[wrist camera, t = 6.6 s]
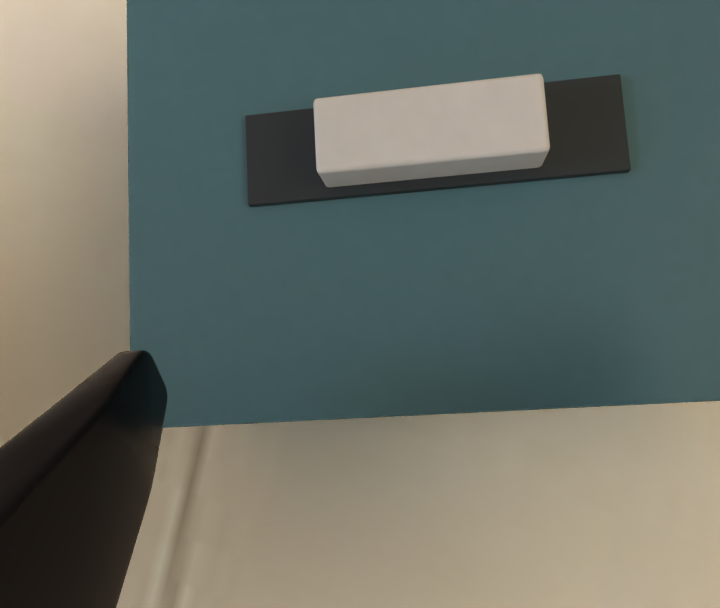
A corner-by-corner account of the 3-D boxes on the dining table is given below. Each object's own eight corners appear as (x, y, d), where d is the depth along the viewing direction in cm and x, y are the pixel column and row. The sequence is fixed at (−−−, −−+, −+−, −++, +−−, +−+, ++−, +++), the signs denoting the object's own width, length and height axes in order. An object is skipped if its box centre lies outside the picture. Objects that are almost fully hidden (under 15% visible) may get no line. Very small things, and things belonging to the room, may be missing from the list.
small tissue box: (851, 398, 9) (761, -196, 11) (101, 434, 11) (99, -91, 12) (678, 389, 16) (635, 30, 17) (234, 412, 18) (223, 79, 19)
